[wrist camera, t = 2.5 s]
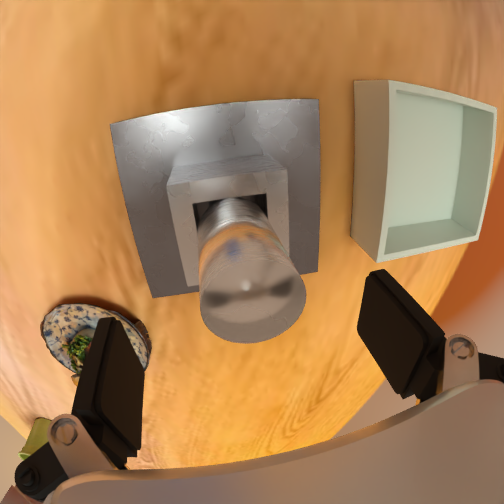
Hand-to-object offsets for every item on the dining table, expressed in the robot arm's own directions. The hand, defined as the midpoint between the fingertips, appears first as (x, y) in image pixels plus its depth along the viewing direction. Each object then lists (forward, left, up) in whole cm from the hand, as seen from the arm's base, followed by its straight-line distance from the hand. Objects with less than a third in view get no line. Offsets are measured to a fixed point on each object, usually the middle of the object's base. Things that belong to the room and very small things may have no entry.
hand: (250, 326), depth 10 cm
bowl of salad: (+12, -15, -13) cm, 23 cm away
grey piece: (0, 0, -12) cm, 12 cm away
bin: (-2, +17, -13) cm, 22 cm away
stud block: (0, 0, -13) cm, 13 cm away
